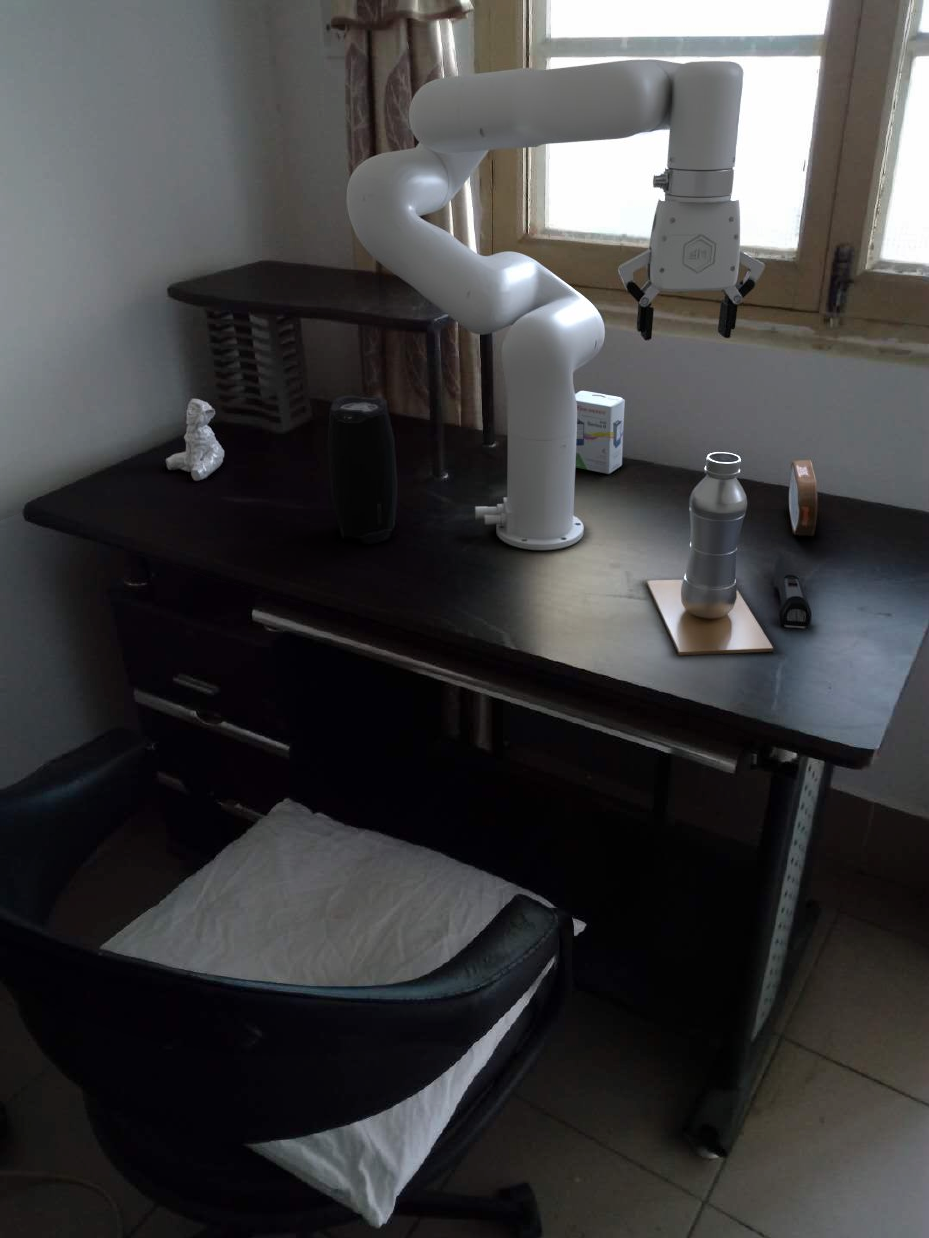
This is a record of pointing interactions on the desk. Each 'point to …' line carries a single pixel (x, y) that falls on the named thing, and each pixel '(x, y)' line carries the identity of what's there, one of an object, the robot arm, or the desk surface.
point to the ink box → (599, 431)
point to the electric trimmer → (791, 593)
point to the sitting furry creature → (198, 443)
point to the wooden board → (707, 625)
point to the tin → (803, 498)
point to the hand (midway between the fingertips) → (684, 336)
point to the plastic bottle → (714, 538)
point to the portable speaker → (362, 467)
